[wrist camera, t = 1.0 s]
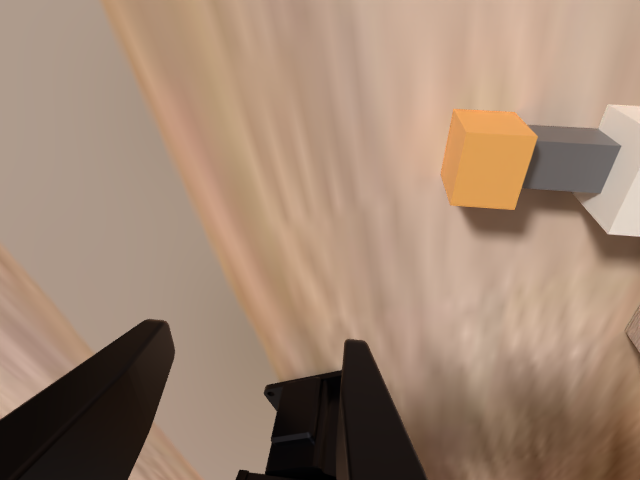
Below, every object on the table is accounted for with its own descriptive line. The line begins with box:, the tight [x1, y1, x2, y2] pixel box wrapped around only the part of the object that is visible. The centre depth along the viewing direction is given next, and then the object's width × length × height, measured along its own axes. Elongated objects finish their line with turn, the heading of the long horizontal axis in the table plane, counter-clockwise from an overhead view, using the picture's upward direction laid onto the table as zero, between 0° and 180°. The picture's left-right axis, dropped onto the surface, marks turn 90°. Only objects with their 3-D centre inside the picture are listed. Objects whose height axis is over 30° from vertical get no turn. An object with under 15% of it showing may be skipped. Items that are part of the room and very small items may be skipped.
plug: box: [441, 105, 640, 237], centre depth 16 cm, size 10×4×4 cm, turn 88°
